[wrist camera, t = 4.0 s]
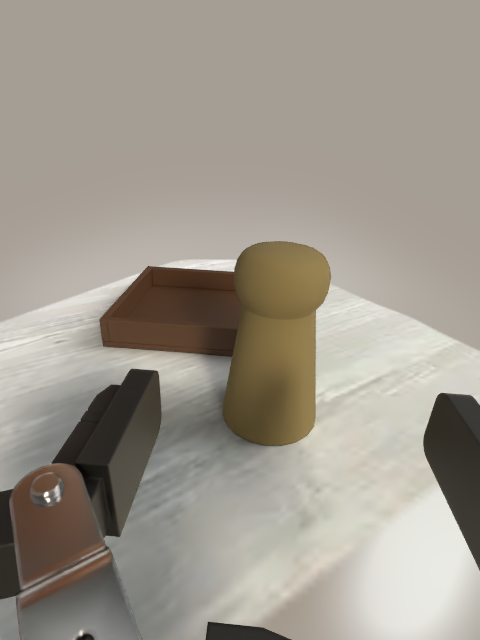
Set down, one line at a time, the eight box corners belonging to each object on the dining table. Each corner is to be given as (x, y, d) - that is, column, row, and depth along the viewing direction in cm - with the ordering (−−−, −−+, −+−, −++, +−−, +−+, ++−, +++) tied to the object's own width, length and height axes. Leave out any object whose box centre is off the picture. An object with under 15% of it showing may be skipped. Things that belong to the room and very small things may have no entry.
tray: (102, 346, 31) (99, 319, 30) (149, 287, 43) (147, 266, 42) (289, 360, 31) (292, 333, 29) (284, 296, 42) (286, 275, 41)
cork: (333, 412, 25) (365, 249, 20) (274, 462, 21) (296, 273, 16) (263, 373, 29) (276, 227, 24) (202, 409, 25) (202, 243, 20)
